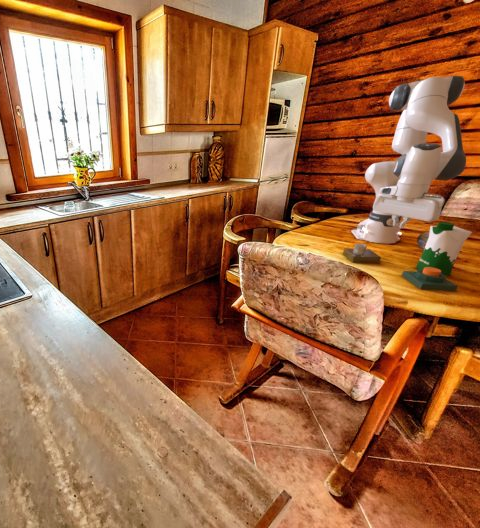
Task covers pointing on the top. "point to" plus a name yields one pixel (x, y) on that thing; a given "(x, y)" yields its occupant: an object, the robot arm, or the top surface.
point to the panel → (362, 256)
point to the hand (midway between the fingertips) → (398, 227)
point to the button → (431, 271)
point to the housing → (429, 281)
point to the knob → (359, 249)
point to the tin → (423, 239)
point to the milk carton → (443, 247)
